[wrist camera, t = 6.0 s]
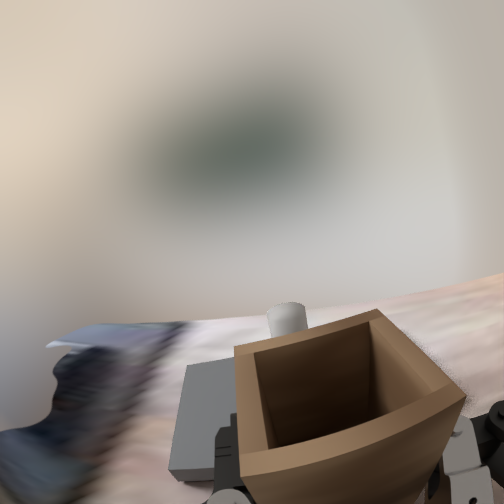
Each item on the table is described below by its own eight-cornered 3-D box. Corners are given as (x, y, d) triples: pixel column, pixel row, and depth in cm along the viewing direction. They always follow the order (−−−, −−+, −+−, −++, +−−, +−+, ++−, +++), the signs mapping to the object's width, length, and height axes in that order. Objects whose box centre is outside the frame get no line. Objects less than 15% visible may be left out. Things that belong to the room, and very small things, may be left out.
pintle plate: (178, 481, 12) (117, 398, 10) (192, 378, 23) (163, 303, 21) (445, 408, 13) (467, 307, 11) (378, 332, 23) (374, 254, 21)
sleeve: (294, 557, 6) (240, 476, 4) (280, 484, 11) (234, 346, 9) (398, 524, 7) (466, 395, 4) (368, 459, 11) (376, 308, 9)
